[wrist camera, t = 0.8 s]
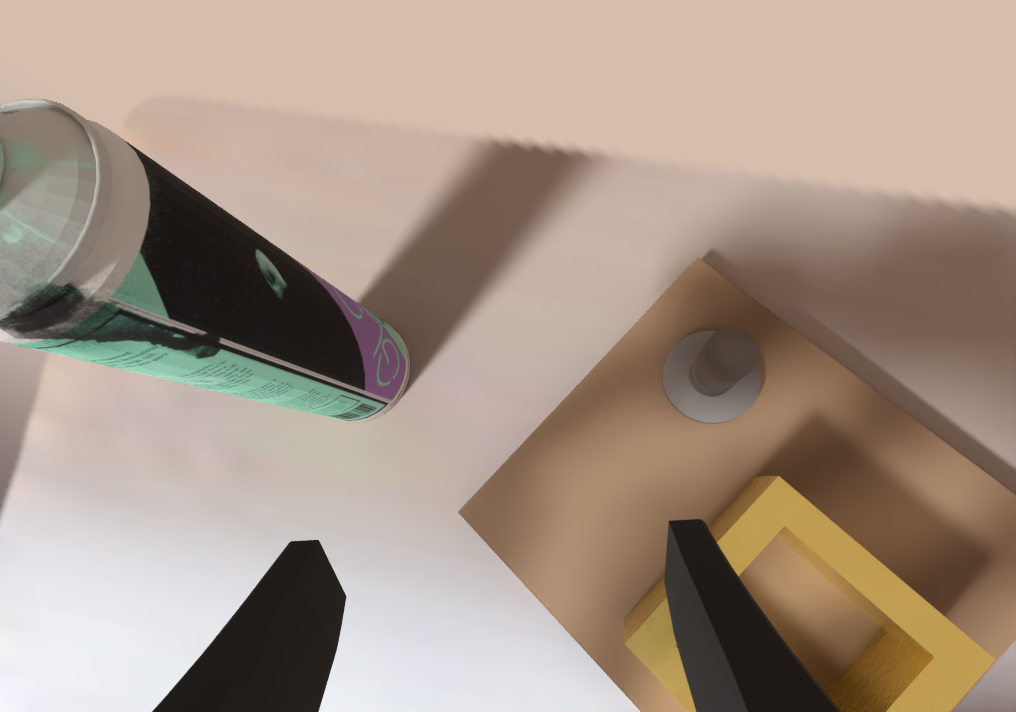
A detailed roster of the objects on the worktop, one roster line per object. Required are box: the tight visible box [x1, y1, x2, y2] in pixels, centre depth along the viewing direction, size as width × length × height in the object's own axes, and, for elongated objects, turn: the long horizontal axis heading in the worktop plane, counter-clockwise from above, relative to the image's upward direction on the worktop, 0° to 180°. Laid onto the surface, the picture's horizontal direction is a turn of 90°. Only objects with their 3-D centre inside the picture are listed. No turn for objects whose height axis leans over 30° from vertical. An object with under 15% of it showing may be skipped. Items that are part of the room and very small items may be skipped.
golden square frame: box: [623, 476, 995, 712], centre depth 20 cm, size 8×8×4 cm
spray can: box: [0, 99, 410, 422], centre depth 19 cm, size 6×6×20 cm
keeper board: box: [458, 258, 1016, 712], centre depth 21 cm, size 18×16×6 cm
